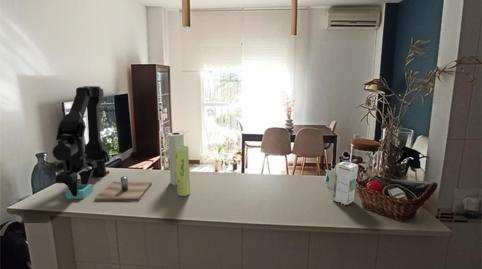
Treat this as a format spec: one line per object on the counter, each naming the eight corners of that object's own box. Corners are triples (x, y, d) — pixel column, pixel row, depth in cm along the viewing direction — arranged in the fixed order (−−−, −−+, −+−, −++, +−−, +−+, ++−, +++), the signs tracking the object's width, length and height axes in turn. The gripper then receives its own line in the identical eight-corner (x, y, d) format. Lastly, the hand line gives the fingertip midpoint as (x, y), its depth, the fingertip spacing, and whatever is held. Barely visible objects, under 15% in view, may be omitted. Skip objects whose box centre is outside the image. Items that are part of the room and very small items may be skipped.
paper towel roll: (178, 178, 129) (176, 131, 125) (188, 182, 126) (186, 133, 121) (165, 183, 124) (162, 134, 119) (175, 187, 120) (173, 136, 116)
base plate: (113, 184, 123) (113, 181, 123) (151, 184, 123) (151, 182, 123) (94, 200, 107) (94, 198, 107) (138, 201, 107) (138, 198, 107)
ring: (76, 191, 115) (75, 184, 115) (93, 191, 115) (92, 184, 115) (66, 198, 109) (65, 190, 108) (84, 198, 109) (83, 191, 108)
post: (123, 188, 116) (122, 176, 115) (129, 188, 116) (128, 176, 115) (120, 190, 114) (119, 178, 113) (126, 190, 114) (125, 178, 113)
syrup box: (339, 197, 112) (343, 160, 109) (354, 202, 108) (358, 164, 105) (332, 201, 108) (335, 163, 105) (347, 206, 104) (351, 167, 101)
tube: (174, 196, 111) (172, 146, 107) (176, 191, 116) (174, 143, 112) (189, 196, 112) (188, 146, 107) (191, 191, 116) (189, 143, 112)
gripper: (67, 146, 118) (72, 183, 121) (36, 160, 99) (42, 202, 103) (95, 146, 118) (99, 183, 121) (69, 160, 99) (74, 203, 103)
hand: (79, 192), depth 112 cm, fingers closed on ring, 7 cm apart
